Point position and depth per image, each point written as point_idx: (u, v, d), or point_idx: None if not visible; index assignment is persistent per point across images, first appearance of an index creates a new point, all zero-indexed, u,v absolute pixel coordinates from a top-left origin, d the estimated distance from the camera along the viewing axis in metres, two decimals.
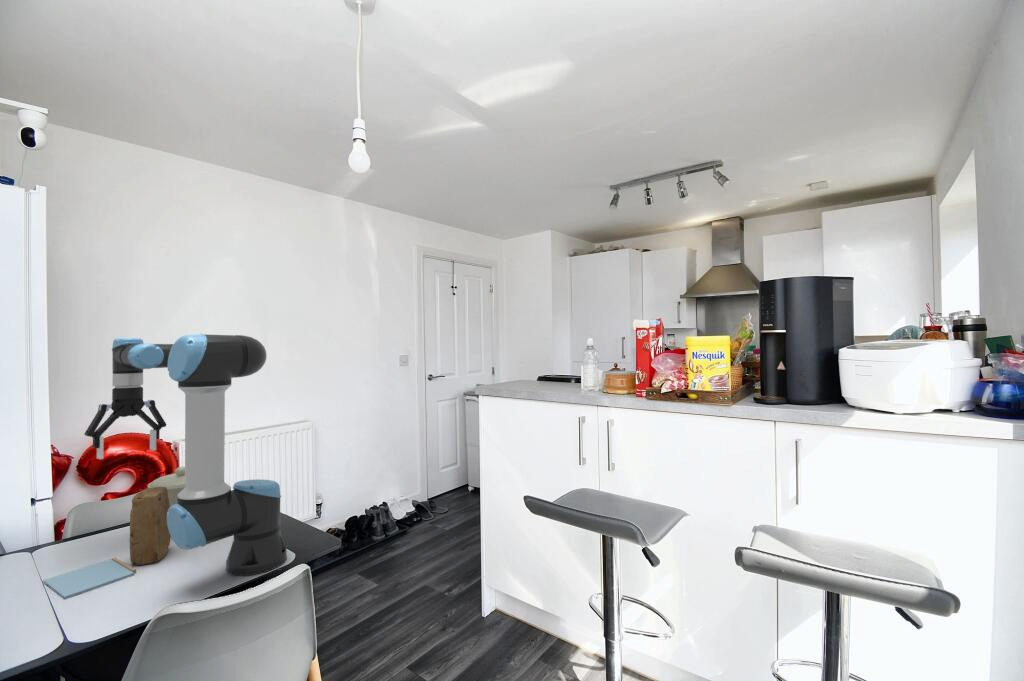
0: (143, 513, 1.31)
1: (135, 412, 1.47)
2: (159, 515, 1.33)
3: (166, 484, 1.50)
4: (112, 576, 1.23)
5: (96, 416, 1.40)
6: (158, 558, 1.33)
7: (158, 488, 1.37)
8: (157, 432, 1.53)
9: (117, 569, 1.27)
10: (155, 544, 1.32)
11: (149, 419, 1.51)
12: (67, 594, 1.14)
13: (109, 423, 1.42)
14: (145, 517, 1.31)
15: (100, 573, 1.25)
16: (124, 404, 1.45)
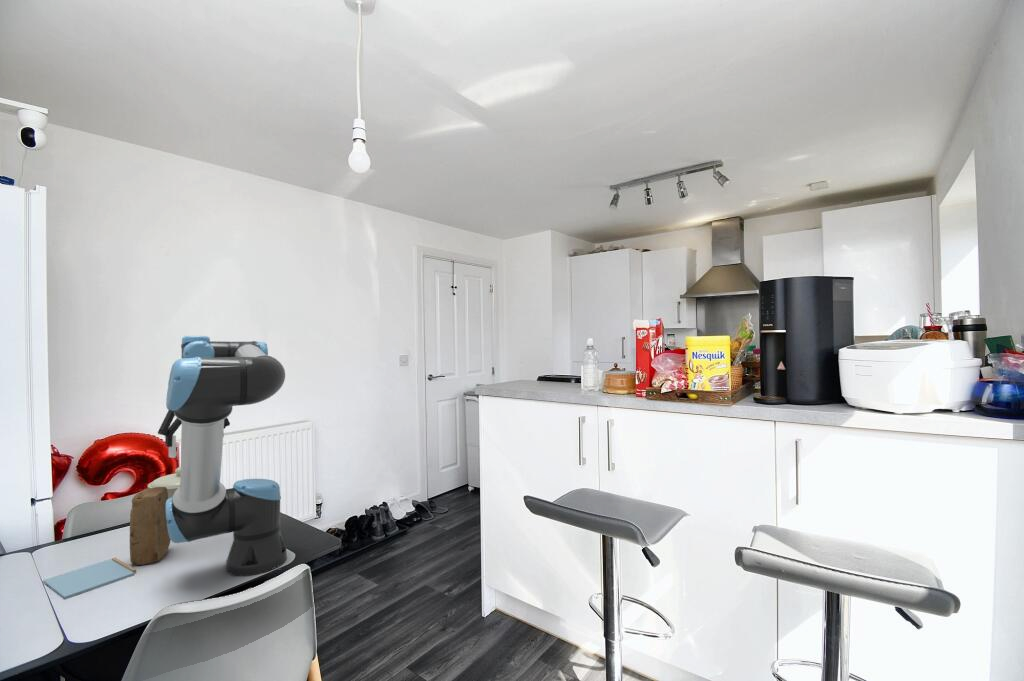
0: (143, 513, 1.31)
1: None
2: (159, 515, 1.33)
3: (166, 484, 1.50)
4: (112, 576, 1.23)
5: (167, 414, 1.40)
6: (158, 558, 1.33)
7: (158, 488, 1.37)
8: None
9: (117, 569, 1.27)
10: (155, 544, 1.32)
11: None
12: (67, 594, 1.14)
13: (180, 421, 1.41)
14: (145, 517, 1.31)
15: (100, 573, 1.25)
16: None
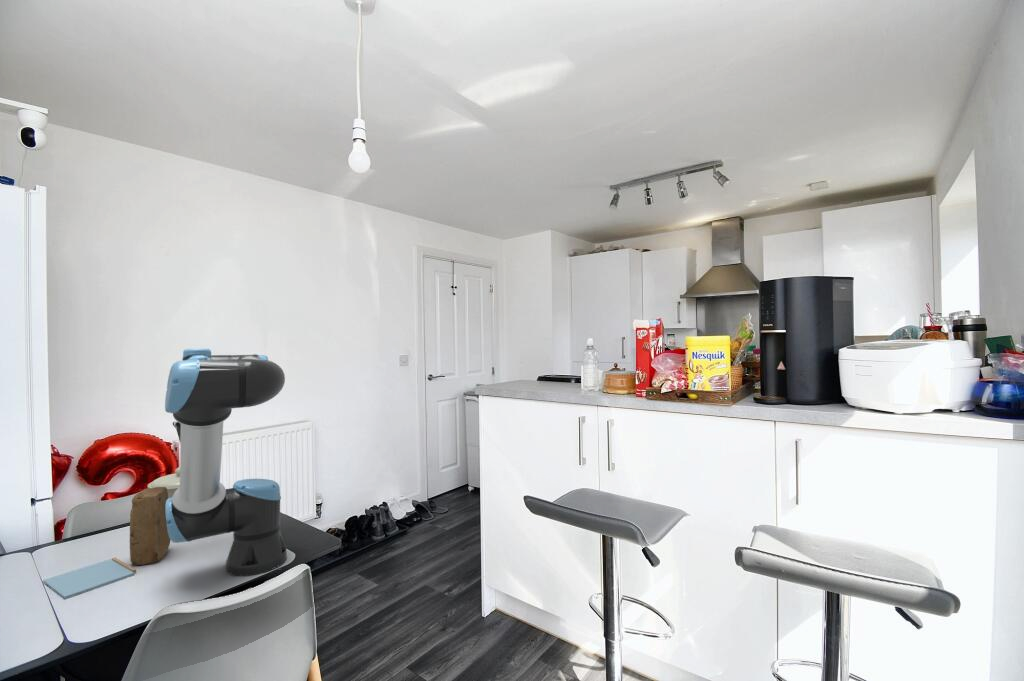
0: (143, 513, 1.31)
1: None
2: (159, 515, 1.33)
3: (166, 484, 1.50)
4: (112, 576, 1.23)
5: (178, 433, 1.42)
6: (158, 558, 1.33)
7: (158, 488, 1.37)
8: None
9: (117, 569, 1.27)
10: (155, 544, 1.32)
11: None
12: (67, 594, 1.14)
13: None
14: (145, 517, 1.31)
15: (100, 573, 1.25)
16: None
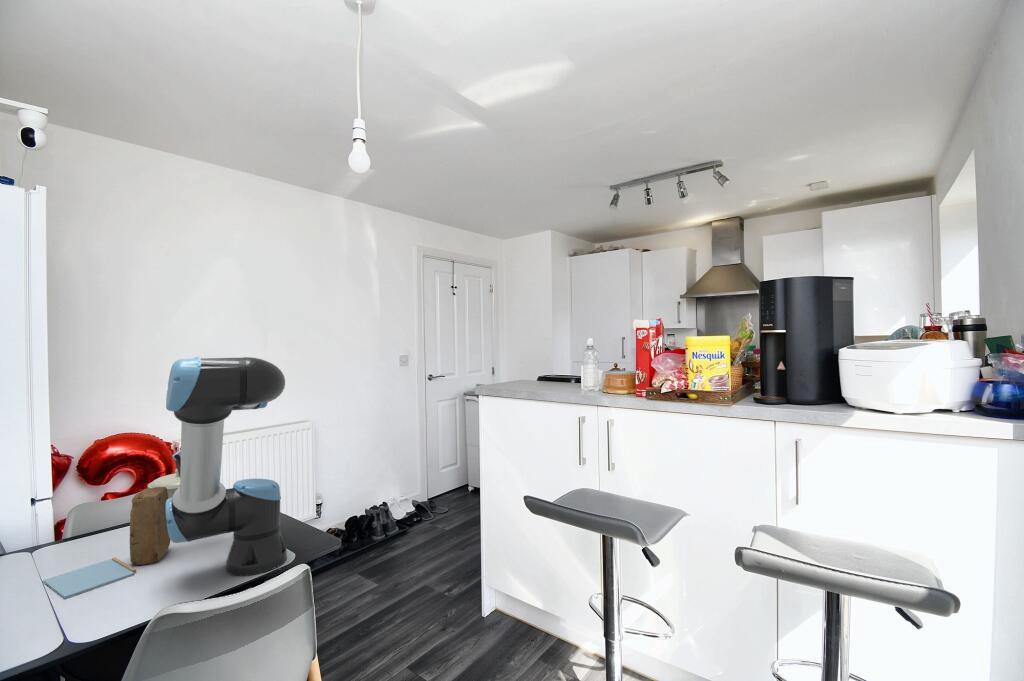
0: (143, 513, 1.31)
1: None
2: (159, 515, 1.33)
3: (166, 484, 1.50)
4: (112, 576, 1.23)
5: (177, 465, 1.42)
6: (158, 558, 1.33)
7: (158, 488, 1.37)
8: None
9: (117, 569, 1.27)
10: (155, 544, 1.32)
11: None
12: (67, 594, 1.14)
13: None
14: (145, 517, 1.31)
15: (100, 573, 1.25)
16: None
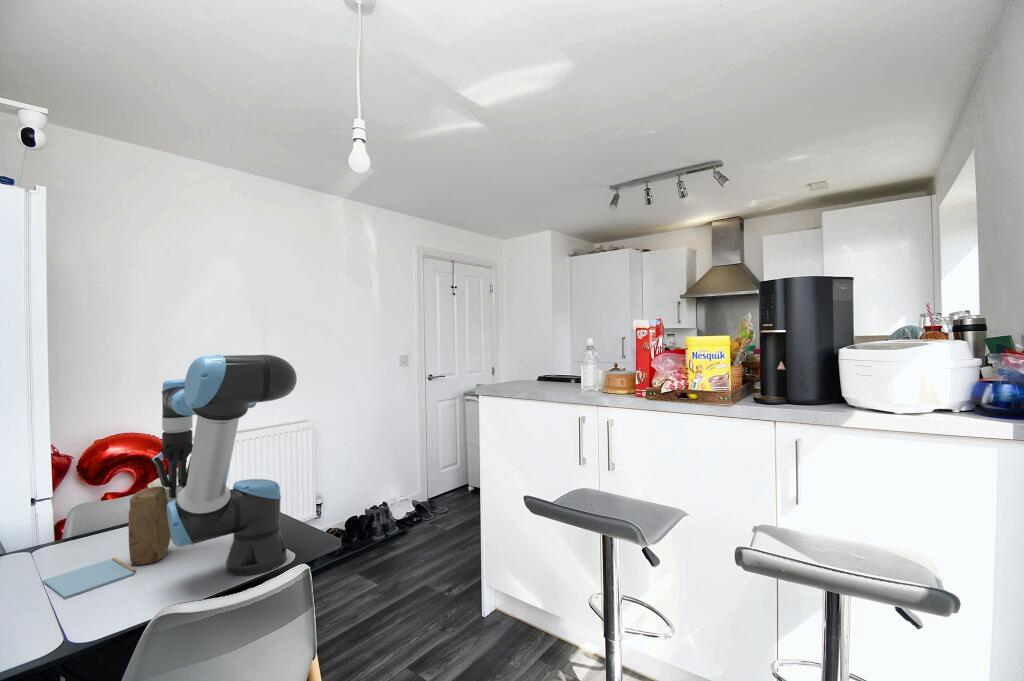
0: (142, 514, 1.31)
1: (180, 456, 1.41)
2: (157, 515, 1.33)
3: None
4: (112, 576, 1.23)
5: (157, 468, 1.38)
6: (158, 558, 1.33)
7: (156, 488, 1.37)
8: (183, 488, 1.42)
9: (117, 569, 1.27)
10: (155, 544, 1.32)
11: (184, 470, 1.42)
12: (67, 594, 1.14)
13: (174, 471, 1.40)
14: (143, 517, 1.31)
15: (100, 573, 1.25)
16: (171, 446, 1.39)
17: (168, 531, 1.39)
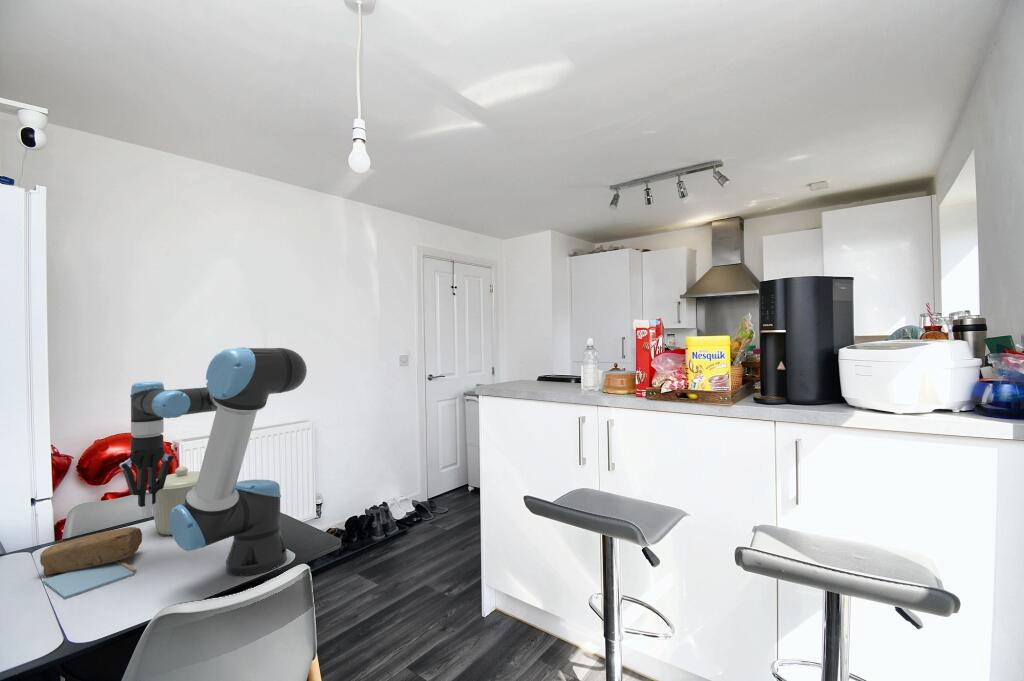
0: (63, 559, 1.25)
1: (150, 463, 1.35)
2: (70, 544, 1.27)
3: (166, 484, 1.50)
4: (112, 576, 1.23)
5: (125, 475, 1.31)
6: (125, 534, 1.31)
7: None
8: (153, 495, 1.36)
9: (117, 569, 1.27)
10: (103, 540, 1.29)
11: (154, 477, 1.35)
12: (67, 594, 1.14)
13: (143, 478, 1.33)
14: (67, 557, 1.26)
15: (100, 573, 1.25)
16: (141, 451, 1.33)
17: (112, 530, 1.35)
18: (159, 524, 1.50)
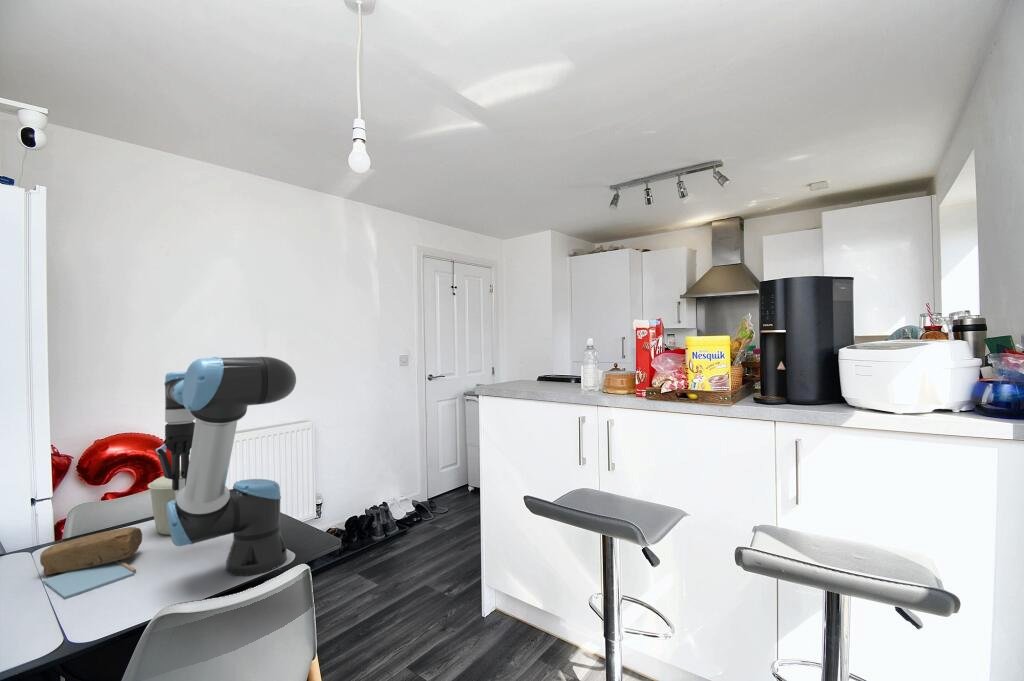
0: (63, 559, 1.25)
1: (183, 448, 1.41)
2: (70, 544, 1.27)
3: (166, 484, 1.50)
4: (112, 576, 1.23)
5: (160, 460, 1.38)
6: (125, 534, 1.31)
7: None
8: (186, 480, 1.42)
9: (117, 569, 1.27)
10: (103, 540, 1.29)
11: (187, 462, 1.42)
12: (67, 594, 1.14)
13: (177, 463, 1.40)
14: (67, 557, 1.26)
15: (100, 573, 1.25)
16: (175, 437, 1.40)
17: (112, 530, 1.35)
18: (159, 524, 1.50)
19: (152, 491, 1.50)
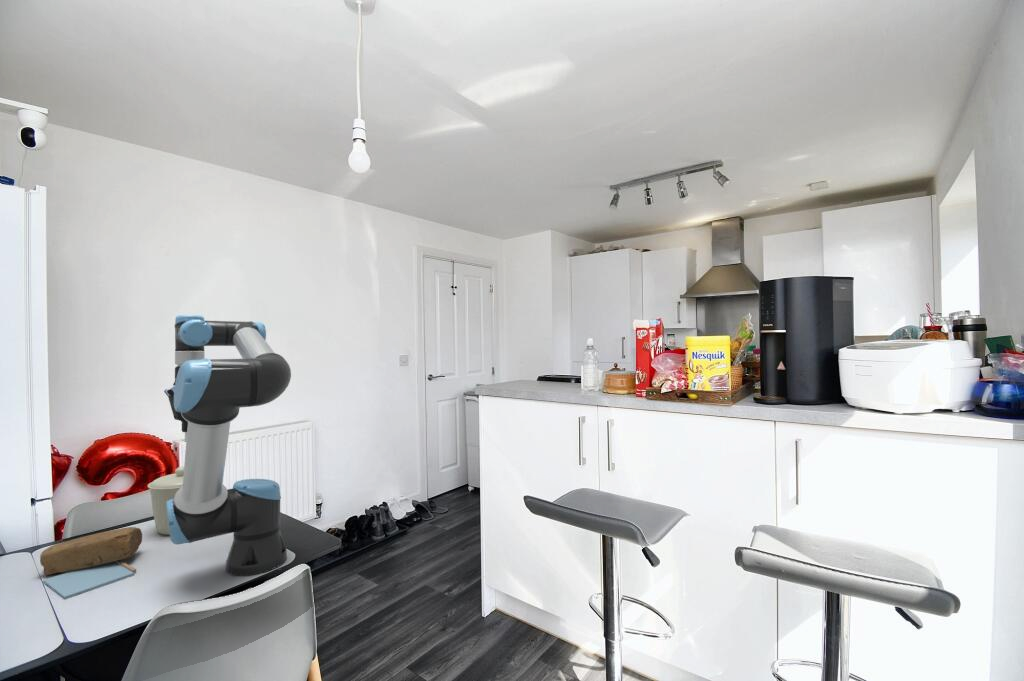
0: (63, 559, 1.25)
1: None
2: (70, 544, 1.27)
3: (166, 484, 1.50)
4: (112, 576, 1.23)
5: (170, 401, 1.39)
6: (125, 534, 1.31)
7: None
8: None
9: (117, 569, 1.27)
10: (103, 540, 1.29)
11: None
12: (67, 594, 1.14)
13: None
14: (67, 557, 1.26)
15: (100, 573, 1.25)
16: None
17: (112, 530, 1.35)
18: (159, 524, 1.50)
19: (152, 491, 1.50)
